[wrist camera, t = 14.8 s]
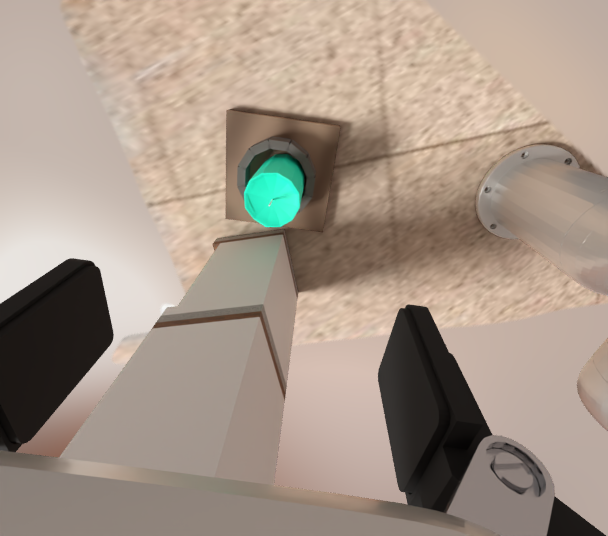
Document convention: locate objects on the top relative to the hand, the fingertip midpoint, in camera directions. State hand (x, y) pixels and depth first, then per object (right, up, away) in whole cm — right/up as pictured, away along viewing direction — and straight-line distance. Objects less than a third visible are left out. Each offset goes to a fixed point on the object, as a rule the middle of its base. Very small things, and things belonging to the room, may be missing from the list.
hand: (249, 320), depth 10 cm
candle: (-1, +14, +33) cm, 35 cm away
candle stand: (-1, +15, +34) cm, 37 cm away
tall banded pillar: (-5, +2, +41) cm, 41 cm away
